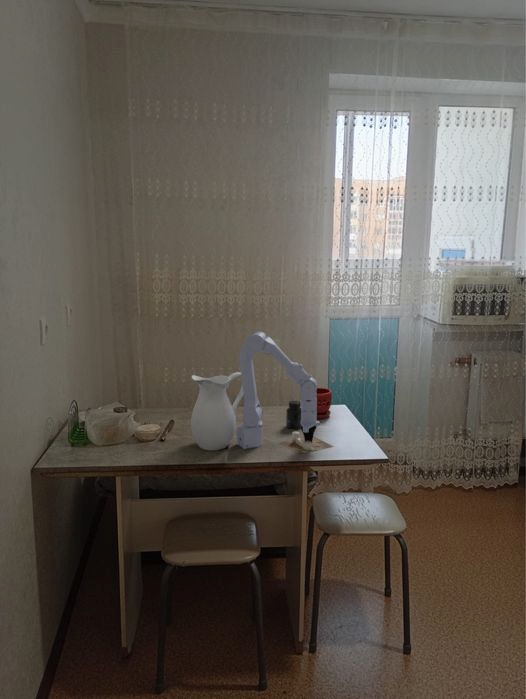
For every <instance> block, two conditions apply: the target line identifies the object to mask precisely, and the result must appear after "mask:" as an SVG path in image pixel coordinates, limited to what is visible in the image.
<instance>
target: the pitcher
mask: <svg viewBox="0 0 526 699" xmlns="http://www.w3.org/2000/svg"><path fill="white" fill-rule="evenodd" d="M238 377H239V378H241V379H242V377H241V371H240V372H239V371H237V372H233V373H231V374H230V375H228V376H227V375H221V374H220V375H215V376H212V377H201V376H198V375H191V379H192V381H193V382H195V383H196V384H197V386H198V388H199V392H198V396H197V399H196V401H195V404H194V406H193V410H192V413H191V421H190V426H191V427H190V428H191V434H192V437H193V439H194V441H195V443H196V444H197V446H198V447H199V448H200V449H202V450H205V451H220V450H224V449H225V448H227V447H228V446H229V445H230V443H231V441H232V440H233V437H234V435H235V432H236V420H237V415H236V409H238V408H237V407H238V406H239V403H240V402H241V400H242V398H243V397H244V392H243V384H242V383H241V387H240V390H239V393H238V394H237V397H236V398H235V400H234V401H233V404H232V403H231V401H230V399H229V396H228V393H227V389H229V388H230V384H231V382H232V381H233V380H234V379H235V378H238Z"/></svg>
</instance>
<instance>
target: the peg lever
mask: <svg viewBox="0 0 526 699" xmlns="http://www.w3.org/2000/svg"><path fill="white" fill-rule="evenodd" d="M300 433H301V432H299V431H292V436H291V438H292V439H291V440H292V442H296V443H297V444H298V445H300V446H301V447H303V450H311V444H312V442H311V441H304V440H302V439H301V438H302V437H300V436H301V434H300Z"/></svg>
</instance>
